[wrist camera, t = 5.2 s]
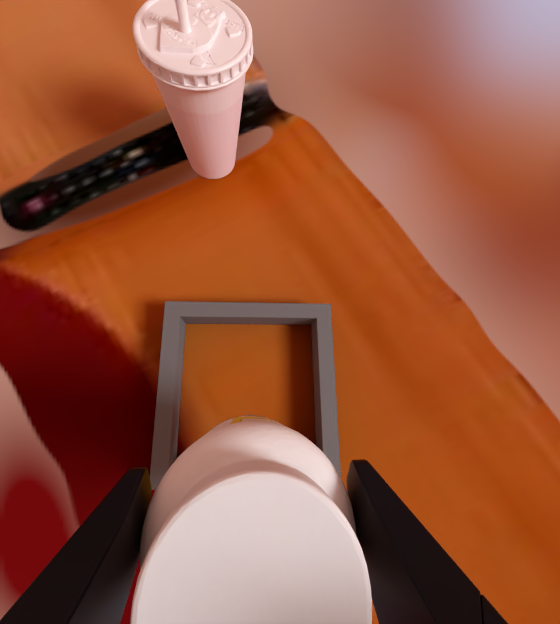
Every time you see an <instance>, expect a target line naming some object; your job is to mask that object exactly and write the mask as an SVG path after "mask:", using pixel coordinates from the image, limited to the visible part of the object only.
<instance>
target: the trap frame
mask: <svg viewBox="0 0 560 624" xmlns="http://www.w3.org/2000/svg"><path fill="white" fill-rule="evenodd" d="M186 324H286V325H311V334H312V358H313V382H314V406H315V430H316V446H317V447H318V448H319V449H320V450H321V451H322V452H323V453H324V454H325V456H326V457H327V458H328V459H329V460H330V462H331V463H332V465H333V466H334V468H335V469H336V471H337V472H338V474H339V476H340V478H341V471H340V454H339V437H338V420H337V403H336V387H335V370H334V353H333V336H332V319H331V304H298V303H237V302H175V301H165V308H164V320H163V331H162V343H161V354H160V366H159V377H158V389H157V400H156V412H155V423H154V435H153V446H152V458H151V469H150V482H151V490H155V489H156V488H157V486H158V485H159V483H160V481H161V480H162V478H163V476H164V475H165V473H166V472H167V471H168V469H169V468H170V466H171V465H172V464H173V463H174V462H175V460H176V458H177V443H178V429H179V414H180V399H181V384H182V369H183V355H184V340H185V325H186Z"/></svg>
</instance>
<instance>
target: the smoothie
mask: <svg viewBox="0 0 560 624" xmlns="http://www.w3.org/2000/svg"><path fill="white" fill-rule="evenodd" d="M133 35H134V39H135V42H136V45H137V50H138V55H139V57H140V59H141V61H142V63H143V65H144V66H145V67H146V69H147V70H148V71H149V72H150V73H151V74H152V75H153V77H154V79H155V82H156V84H157V87H158V89H159V92H160V94H161V96H162V98H163V101H164V103H165V105H166V108H167V110H168V113H169V115H170V117H171V119H172V122H173V124H174V127H175V129H176V131H177V134H178V136H179V139H180V141H181V143H182V146H183V148H184V150H185V153H186V155H187V158H188V160H189V162H190V164H191V167H192V169H193V170H194V171H195V172H196V173H197V174H198V175H200V176H202V177H204V178H208V179H218V178H222V177H224V176H226V175H228V174H229V173H230V172H231V171H232V169H233V167H234V165H235V157H236V148H237V140H238V132H239V124H240V115H241V107H242V98H243V90H244V83H245V73H246V71H247V70H248V68H249V66H250V64H251V62H252V58H253V45H252V28H251V25H250V22H249V20H248V18H247V17H246V15H245V14H244V13H243V11H242V10H241V9H240V8H239V7H237V6H236V5H235V4H234V3H233V2H231V1H230V0H148V1H147V2H145V3H144V4H143V5H142V7H141V8H140V9H139V10H138V12H137V14H136V16H135V18H134V21H133Z"/></svg>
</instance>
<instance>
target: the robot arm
mask: <svg viewBox="0 0 560 624" xmlns="http://www.w3.org/2000/svg"><path fill="white" fill-rule="evenodd" d="M347 490H348V496H349V499H350V502H351V505H352V509H353V514H354V520H355V525H356V537H357V539H358V541H359V543H360V546H361V548H362V551H363V555H364V558H365V561H366V564H367V569H368V574H369V580H370V585H371V596H372V600H373V604H374V607H375V611H376V614H377V618H378V622H379V624H508V623H507V622H506V621H505V620H504V618H503V617H502V616H501V615H500V614H499V613H498V612H497V610H496V609H495V608H494V607H493V606H492V605H491V604H490V602H489V601H488V600H487V599H486V598H485V597H484V595H480V591H479V590H478V589H477V587H476V586H475V585H474V584H473V583H472V582H471V580H470V579H469V578H468V577H467V576H466V575H465V573H464V572H463V571H462V570H461V569H460V568H459V567H458V565H457V564H456V563H455V562H454V561H453V560H452V558H451V557H450V556H449V555H448V554H447V553H446V551H445V550H444V549H443V548H442V547H441V546H440V544H439V543H438V542H437V541H436V540H435V539H434V537H433V536H432V535H431V534H430V533H429V532H428V531H427V529H426V528H425V527H424V526H423V525H422V524H421V522H420V521H419V520H418V519H417V518H416V517H415V515H414V514H413V513H412V512H411V511H410V510H409V508H408V507H407V506H406V505H405V504H404V503H403V501H402V500H401V499H400V498H399V497H398V496H397V495H396V493H395V492H394V491H393V490H392V489H391V488H390V486H389V485H388V484H387V483H386V482H385V481H384V479H383V478H382V477H381V476H380V475H379V474H378V472H377V471H376V470H375V469H374V468H373V467H372V465H371V464H370V463H369V462H368V461H366V460H364V459H363V460H352V461H351V463H350V467H349V471H348V475H347ZM150 497H151V482H150V478H149V473H148V469H147V468H146V467H133V468H130V469H129V470H128V471H127V472H126V473H125V474H124V475H123V477H122V478H121V479H120V480H119V481H118V483H117V484H116V485H115V486H114V487H113V488H112V490H111V491H110V492H109V493H108V494H107V495H106V497H105V498H104V499H103V500H102V501H101V502H100V504H99V505H98V506H97V507H96V508H95V510H94V511H93V512H92V513H91V514H90V515H89V517H88V518H87V519H86V520H85V521H84V522H83V524H82V525H81V526H80V527H79V528H78V530H77V531H76V532H75V533H74V534H73V536H72V537H71V538H70V539H69V540H68V541H67V542H66V544H65V545H64V546H63V547H62V548H61V550H60V551H59V552H58V553H57V554H56V555H55V557H54V558H53V559H52V560H51V561H50V563H49V564H48V565H47V566H46V567H45V569H44V570H43V571H42V572H41V573H40V574H39V575H38V577H37V578H36V579H35V580H34V581H33V582H32V584H31V585H30V586H29V587H28V588H27V590H26V591H25V592H24V593H23V594H22V595H21V597H20V598H19V599H18V600H17V601H16V602H15V604H14V605H13V606H12V607H11V608H10V610H9V611H8V612H7V613H6V614H5V615H4V617H3V618H2V619H1V620H0V624H120V622H121V619H122V615H123V612H124V608H125V605H126V602H127V598H128V595H129V591H130V588H131V585H132V581H133V578H134V574H135V571H136V567H137V563H138V559H139V554H140V544H141V536H142V529H143V525H144V520H145V517H146V513H147V510H148V507H149V503H150Z"/></svg>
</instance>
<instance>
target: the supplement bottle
mask: <svg viewBox="0 0 560 624" xmlns="http://www.w3.org/2000/svg"><path fill="white" fill-rule="evenodd" d="M140 569H141V570H140V573H139V577H138V580H137V584H136V588H135V593H134V598H133V604H132V611H131V623H130V624H371V623H372V596H371V585H370V580H369V574H368V569H367V564H366V561H365V558H364V555H363V551H362V548H361V546H360V543H359V541H358V539H357V537H356V525H355V520H354V514H353V509H352V505H351V502H350V499H349V496H348V493H347V490H346V488H345V486H344V483H343V481H342V480H341V478H340V476H339V474H338V472H337V471H336V469H335V468H334V466H333V465H332V463H331V462H330V460H329V459H328V458H327V457H326V456H325V454H324V453H323V452H322V451H321V450H320V449H319V448H318V447H317V446H316V445H315V444H313V443H312V442H311V441H310V440H309V439H307V438H306V437H305V436H303V435H302V434H300V433H299V432H297V431H295V430H293V429H290V428H288V427H286V426H284V425H282V424H280V423H278V422H277V421H274V420H272V419H269V418H266V417H261V416H255V415H246V416H239V417H235V418H232V419H229V420H226V421H224V422H222V423H221V424H219V425H217V426H216V427H214V428H213V429H211V430H210V431H209V432H207V433H206V434H205V435H203V436H202V437H201V438H199V439H198V440H197V441H195V442H194V443H193V444H192V445H190V446H189V447H188V448H187V449H186V450H185V451H184V452H183V453H182V454H181V455H180V456H179V457H178V458H177V459H176V460H175V462H174V463H173V464H172V465H171V466H170V468H169V469H168V471H167V472H166V473H165V475H164V476H163V478H162V480H161V481H160V483H159V485H158V486H157V488H156V490H155V492H154V495H153V497H152V499H151V502H150V504H149V507H148V510H147V513H146V517H145V520H144V525H143V529H142V536H141V544H140Z"/></svg>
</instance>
